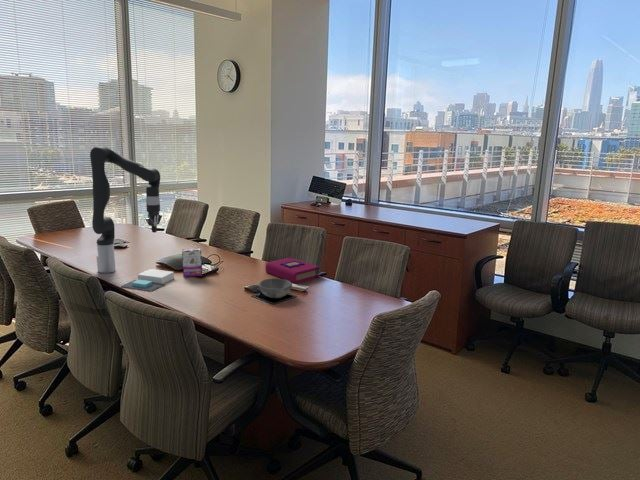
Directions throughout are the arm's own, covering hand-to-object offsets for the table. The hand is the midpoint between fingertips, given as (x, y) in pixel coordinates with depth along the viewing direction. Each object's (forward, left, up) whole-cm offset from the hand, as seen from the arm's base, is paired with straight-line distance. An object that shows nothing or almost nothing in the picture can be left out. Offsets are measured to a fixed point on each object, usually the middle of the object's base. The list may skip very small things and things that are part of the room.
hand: (154, 232), depth 284 cm
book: (+77, +30, -27) cm, 87 cm away
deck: (+6, -9, -26) cm, 28 cm away
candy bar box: (+21, +6, -26) cm, 34 cm away
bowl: (+81, -9, -26) cm, 86 cm away
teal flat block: (+6, -22, -24) cm, 33 cm away
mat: (+6, -21, -26) cm, 34 cm away
